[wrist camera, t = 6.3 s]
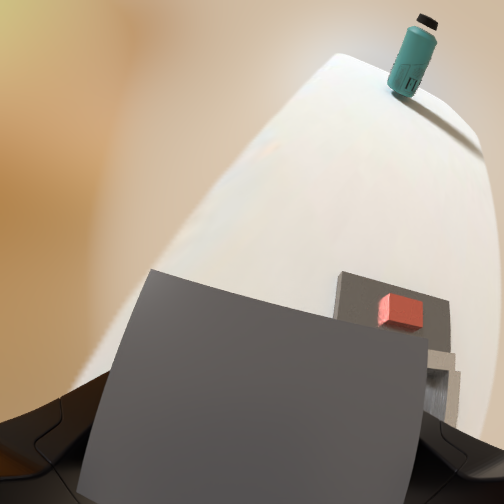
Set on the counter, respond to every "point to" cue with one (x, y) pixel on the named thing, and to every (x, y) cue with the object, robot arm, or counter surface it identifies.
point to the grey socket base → (407, 331)
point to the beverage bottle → (413, 58)
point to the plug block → (253, 405)
